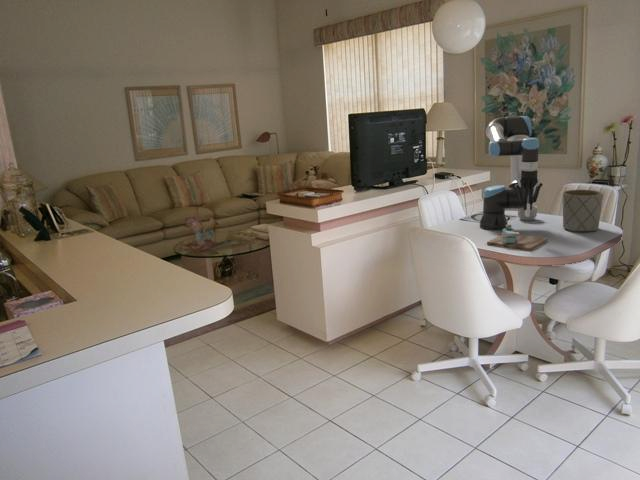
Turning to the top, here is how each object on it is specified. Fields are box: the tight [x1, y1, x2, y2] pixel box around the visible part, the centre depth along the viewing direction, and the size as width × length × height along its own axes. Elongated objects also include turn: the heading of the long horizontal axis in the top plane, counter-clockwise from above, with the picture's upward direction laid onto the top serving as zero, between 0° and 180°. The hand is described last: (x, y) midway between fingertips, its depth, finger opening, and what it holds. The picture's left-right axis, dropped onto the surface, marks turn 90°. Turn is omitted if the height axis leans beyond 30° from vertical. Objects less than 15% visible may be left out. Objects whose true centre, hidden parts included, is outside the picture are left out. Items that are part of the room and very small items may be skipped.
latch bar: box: [502, 227, 516, 243], centre depth 254 cm, size 20×6×2 cm, turn 164°
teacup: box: [517, 204, 538, 221], centre depth 297 cm, size 14×11×8 cm
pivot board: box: [486, 224, 549, 252], centre depth 250 cm, size 22×21×7 cm
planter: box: [562, 189, 604, 233], centre depth 266 cm, size 19×19×20 cm
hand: (527, 215), depth 252 cm, fingers closed
